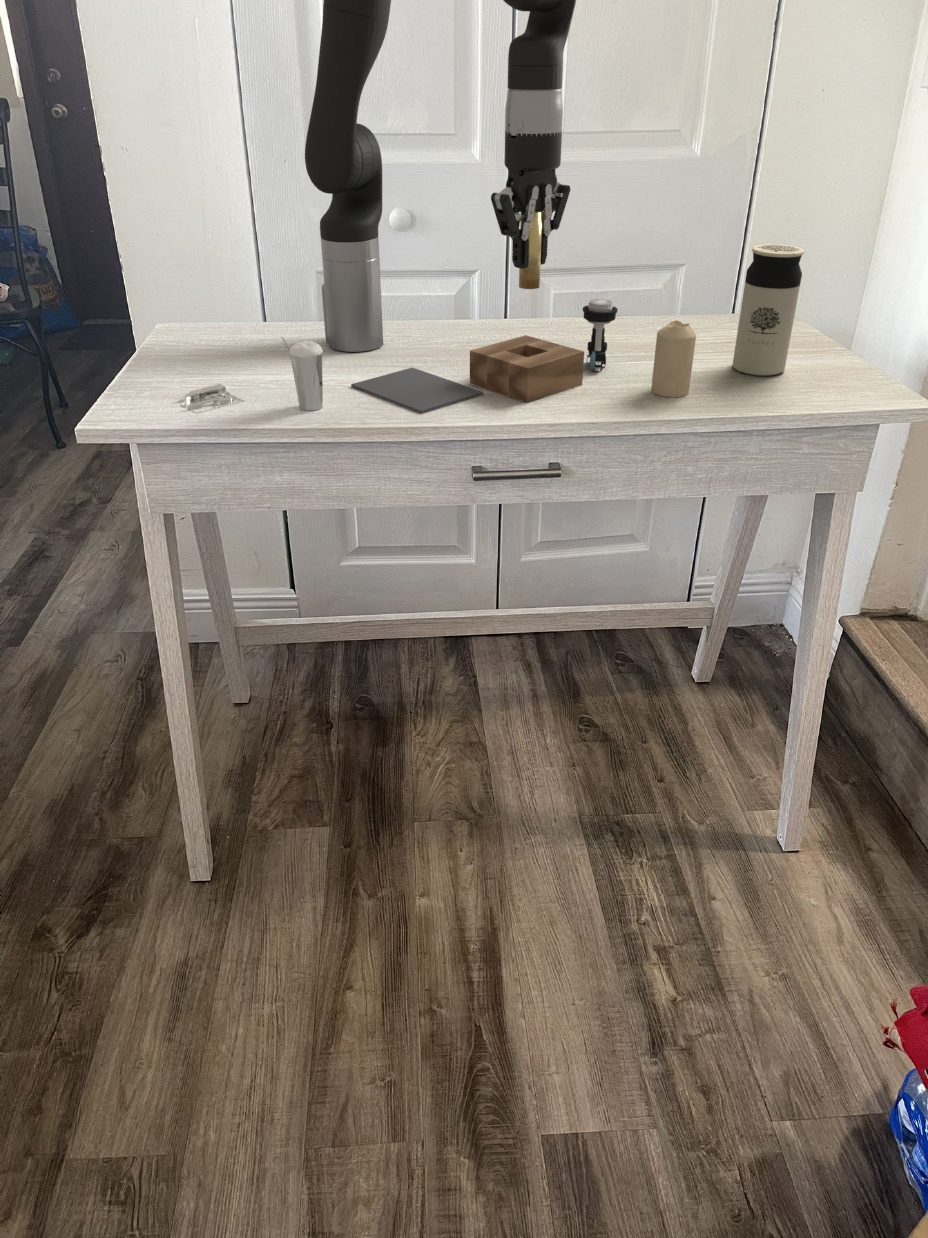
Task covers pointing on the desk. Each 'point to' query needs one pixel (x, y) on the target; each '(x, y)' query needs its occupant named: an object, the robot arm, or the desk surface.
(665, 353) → the candle
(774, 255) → the travel mug
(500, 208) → the robot arm
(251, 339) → the desk surface
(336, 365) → the desk surface
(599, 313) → the push button
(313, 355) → the milkshake
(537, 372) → the socket block
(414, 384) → the mat
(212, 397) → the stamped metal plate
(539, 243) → the pin
